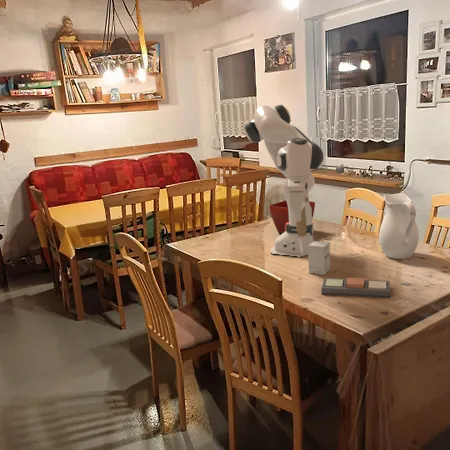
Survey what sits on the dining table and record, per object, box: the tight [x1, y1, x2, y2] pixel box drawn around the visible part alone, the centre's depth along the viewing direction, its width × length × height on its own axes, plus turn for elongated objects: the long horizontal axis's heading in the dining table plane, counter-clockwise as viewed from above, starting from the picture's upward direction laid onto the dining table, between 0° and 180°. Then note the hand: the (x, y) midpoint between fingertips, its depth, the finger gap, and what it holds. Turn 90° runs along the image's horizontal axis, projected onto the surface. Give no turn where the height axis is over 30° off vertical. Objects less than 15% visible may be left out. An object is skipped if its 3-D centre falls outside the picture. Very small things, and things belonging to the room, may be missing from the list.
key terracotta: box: [346, 277, 365, 288], centre depth 177 cm, size 6×6×2 cm
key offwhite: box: [368, 280, 387, 289], centre depth 175 cm, size 6×6×2 cm
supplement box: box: [307, 240, 331, 276], centre depth 200 cm, size 7×7×13 cm
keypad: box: [320, 277, 391, 299], centre depth 178 cm, size 25×10×3 cm, turn 72°
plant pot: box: [268, 199, 316, 234], centre depth 262 cm, size 19×19×17 cm
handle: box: [296, 197, 310, 237], centre depth 179 cm, size 5×6×15 cm
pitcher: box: [378, 192, 420, 260], centre depth 206 cm, size 24×17×28 cm
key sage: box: [325, 278, 343, 287], centre depth 180 cm, size 6×6×2 cm
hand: (300, 218), depth 177 cm, fingers open, 8 cm apart
